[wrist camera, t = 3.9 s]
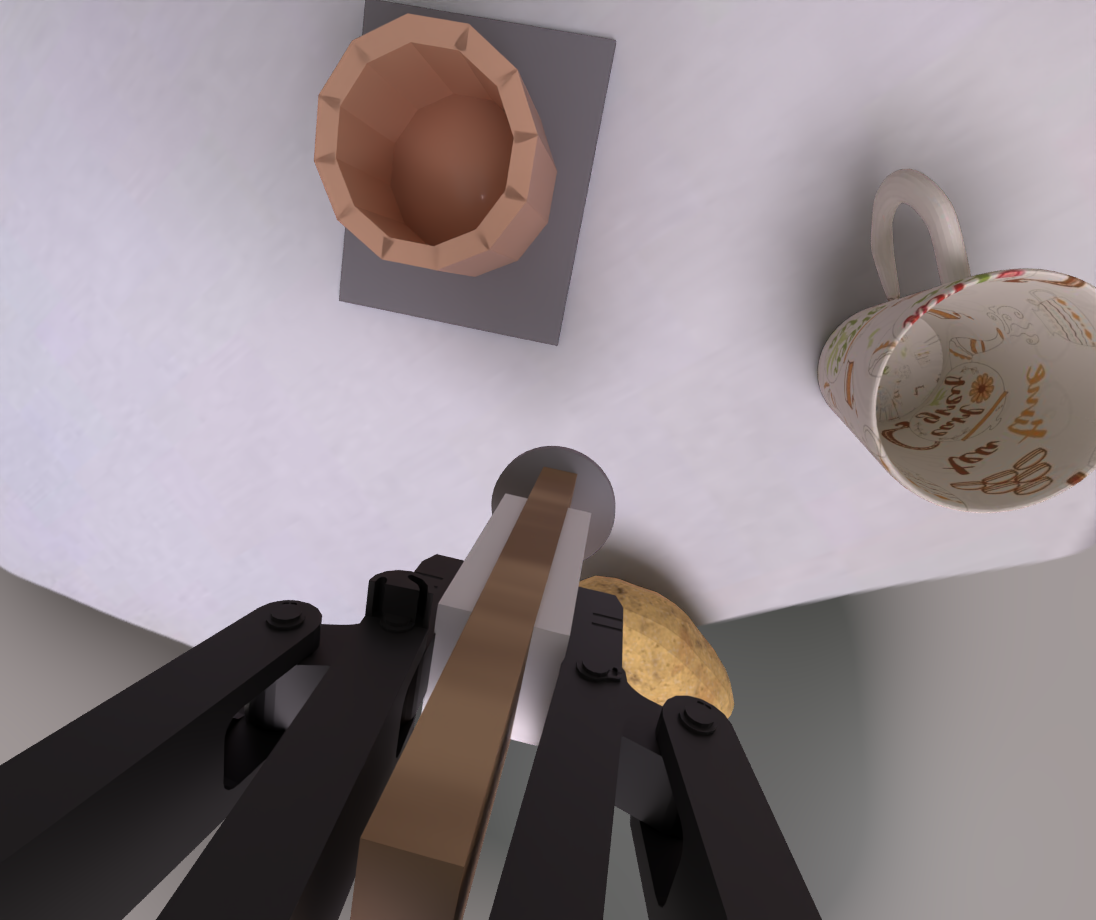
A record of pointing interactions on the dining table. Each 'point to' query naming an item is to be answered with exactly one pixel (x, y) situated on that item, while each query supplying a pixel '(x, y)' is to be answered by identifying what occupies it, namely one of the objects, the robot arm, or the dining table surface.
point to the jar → (434, 148)
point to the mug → (967, 370)
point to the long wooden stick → (474, 706)
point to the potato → (665, 648)
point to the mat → (572, 131)
